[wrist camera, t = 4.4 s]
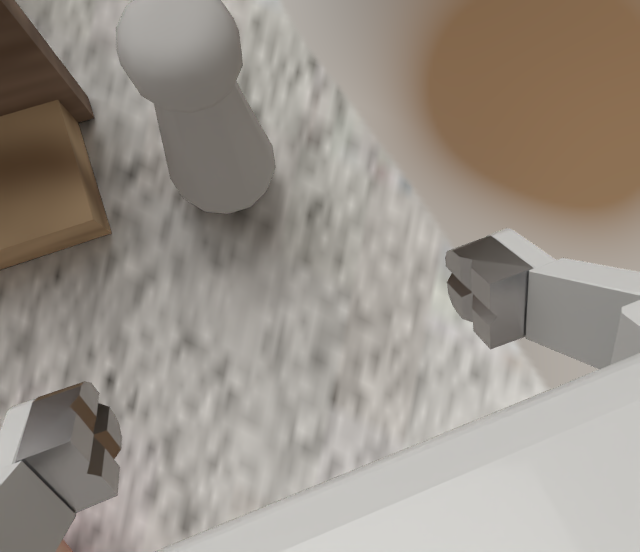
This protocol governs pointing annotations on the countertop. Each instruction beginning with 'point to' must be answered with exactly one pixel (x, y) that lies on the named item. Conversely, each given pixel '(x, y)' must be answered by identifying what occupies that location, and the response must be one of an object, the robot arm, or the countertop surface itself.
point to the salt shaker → (197, 99)
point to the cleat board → (42, 149)
